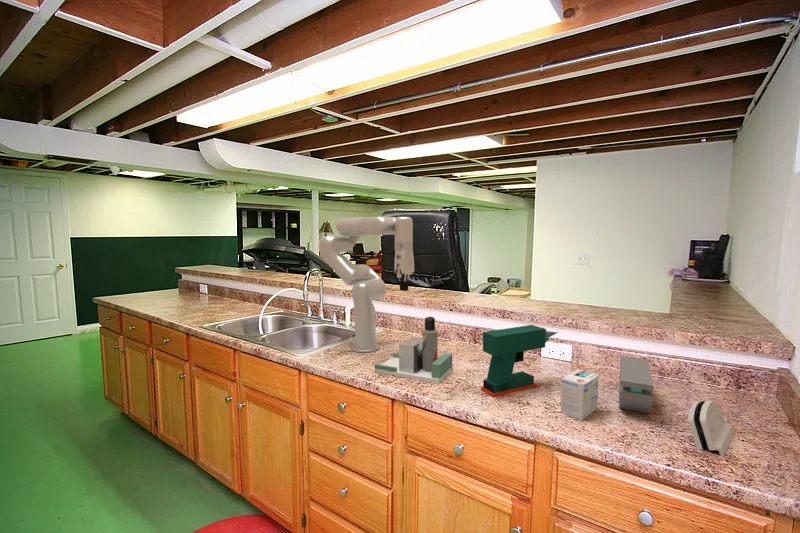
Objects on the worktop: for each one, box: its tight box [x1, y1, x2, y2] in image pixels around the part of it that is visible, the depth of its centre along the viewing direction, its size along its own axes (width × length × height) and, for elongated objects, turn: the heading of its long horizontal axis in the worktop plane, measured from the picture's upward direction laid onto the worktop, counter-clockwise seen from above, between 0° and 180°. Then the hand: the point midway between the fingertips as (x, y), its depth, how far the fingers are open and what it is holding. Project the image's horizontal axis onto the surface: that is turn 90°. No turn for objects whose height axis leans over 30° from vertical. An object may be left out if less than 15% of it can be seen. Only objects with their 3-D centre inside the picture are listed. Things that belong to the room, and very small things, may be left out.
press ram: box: [398, 336, 423, 373], centre depth 147 cm, size 7×12×10 cm, turn 153°
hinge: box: [688, 400, 735, 458], centre depth 98 cm, size 17×5×10 cm, turn 132°
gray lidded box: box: [618, 355, 655, 414], centre depth 118 cm, size 25×8×11 cm, turn 150°
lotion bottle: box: [421, 316, 439, 372], centre depth 143 cm, size 6×6×20 cm
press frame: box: [374, 352, 454, 385], centre depth 147 cm, size 26×16×6 cm, turn 63°
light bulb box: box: [560, 369, 600, 421], centre depth 113 cm, size 11×7×11 cm, turn 131°
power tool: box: [480, 324, 559, 398], centre depth 132 cm, size 32×7×20 cm, turn 115°
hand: (404, 290), depth 160 cm, fingers closed
